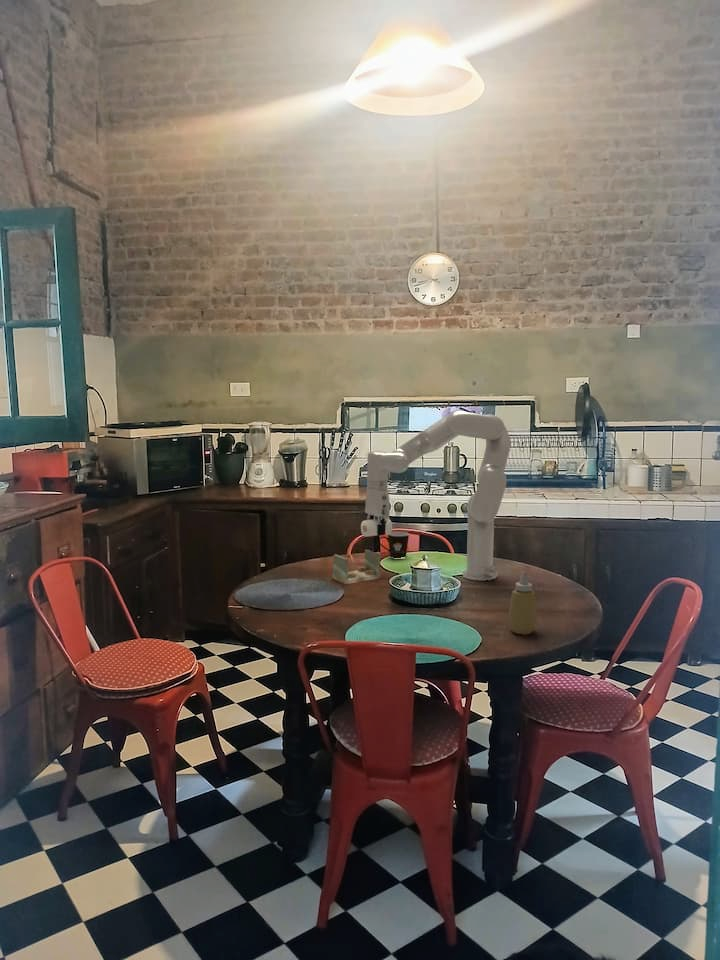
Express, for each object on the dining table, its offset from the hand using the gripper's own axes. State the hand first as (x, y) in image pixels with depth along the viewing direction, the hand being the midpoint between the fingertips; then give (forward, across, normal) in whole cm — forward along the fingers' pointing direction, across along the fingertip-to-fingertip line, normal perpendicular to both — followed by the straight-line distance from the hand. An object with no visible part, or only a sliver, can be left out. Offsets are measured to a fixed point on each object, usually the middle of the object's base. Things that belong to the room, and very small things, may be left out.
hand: (376, 532), depth 274 cm
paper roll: (+1, 0, 0) cm, 1 cm away
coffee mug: (+16, +18, -21) cm, 32 cm away
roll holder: (+16, 0, +9) cm, 18 cm away
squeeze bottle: (+16, -73, -4) cm, 75 cm away
